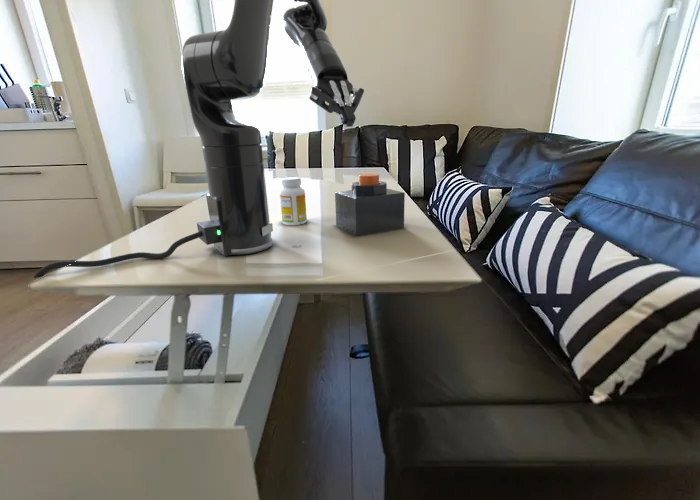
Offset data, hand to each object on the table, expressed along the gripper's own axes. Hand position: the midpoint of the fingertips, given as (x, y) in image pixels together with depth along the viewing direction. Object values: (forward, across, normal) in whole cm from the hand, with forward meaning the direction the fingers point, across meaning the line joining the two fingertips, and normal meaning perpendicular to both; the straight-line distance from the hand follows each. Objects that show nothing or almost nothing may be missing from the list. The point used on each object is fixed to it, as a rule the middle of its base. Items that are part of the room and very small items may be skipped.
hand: (350, 123), depth 74 cm
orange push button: (+14, 0, +3) cm, 14 cm away
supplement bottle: (+12, -12, +18) cm, 24 cm away
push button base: (+20, 0, +9) cm, 22 cm away
